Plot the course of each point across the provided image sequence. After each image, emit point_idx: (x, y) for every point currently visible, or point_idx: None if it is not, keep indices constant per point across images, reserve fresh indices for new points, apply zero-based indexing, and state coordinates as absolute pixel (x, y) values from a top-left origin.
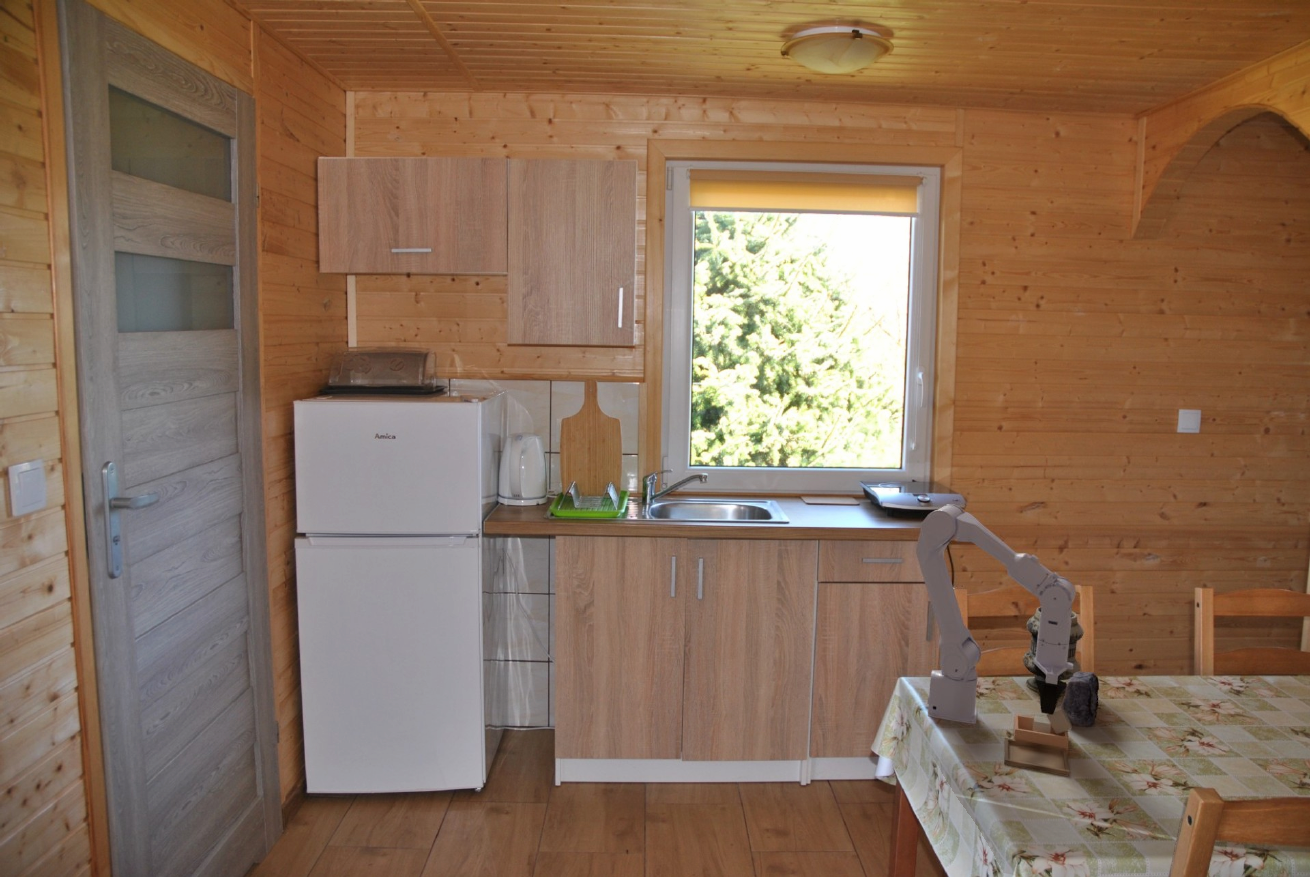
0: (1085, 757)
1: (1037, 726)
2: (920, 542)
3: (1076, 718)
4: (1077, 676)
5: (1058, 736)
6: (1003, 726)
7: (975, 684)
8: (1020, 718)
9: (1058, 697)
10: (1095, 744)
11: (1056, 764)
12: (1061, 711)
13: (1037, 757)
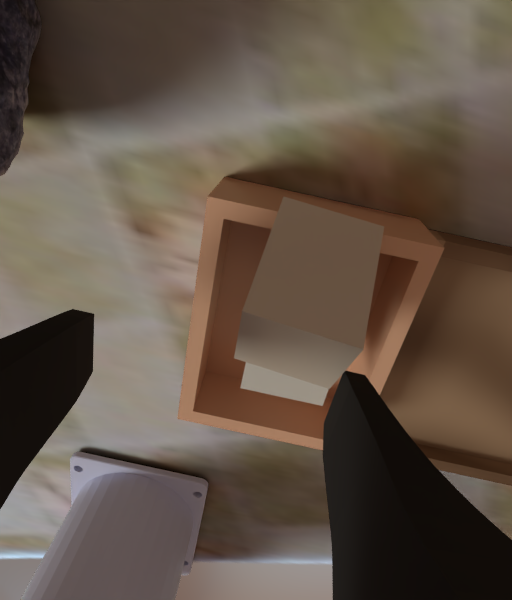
0: (448, 129)
1: None
2: None
3: (24, 67)
4: None
5: (420, 297)
6: (178, 397)
7: None
8: (197, 394)
9: (459, 495)
10: (264, 6)
11: None
12: (363, 338)
13: (481, 364)
